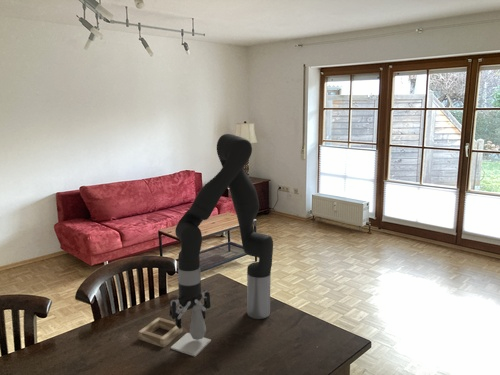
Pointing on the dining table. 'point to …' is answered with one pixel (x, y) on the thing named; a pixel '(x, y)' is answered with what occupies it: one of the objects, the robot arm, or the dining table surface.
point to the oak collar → (155, 339)
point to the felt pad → (190, 345)
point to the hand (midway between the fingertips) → (190, 323)
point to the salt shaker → (197, 322)
